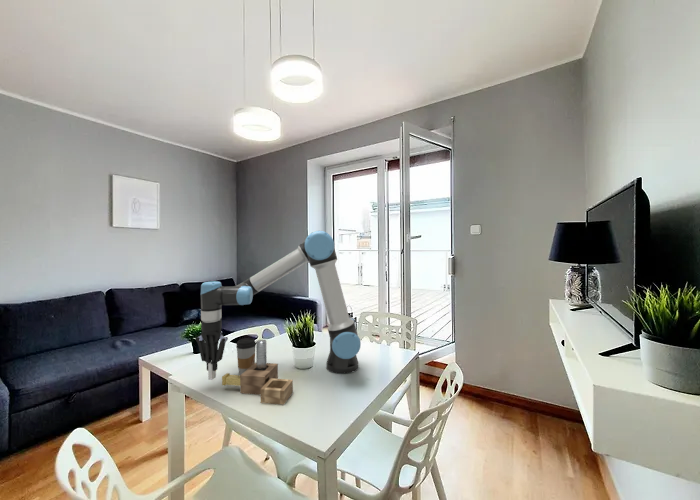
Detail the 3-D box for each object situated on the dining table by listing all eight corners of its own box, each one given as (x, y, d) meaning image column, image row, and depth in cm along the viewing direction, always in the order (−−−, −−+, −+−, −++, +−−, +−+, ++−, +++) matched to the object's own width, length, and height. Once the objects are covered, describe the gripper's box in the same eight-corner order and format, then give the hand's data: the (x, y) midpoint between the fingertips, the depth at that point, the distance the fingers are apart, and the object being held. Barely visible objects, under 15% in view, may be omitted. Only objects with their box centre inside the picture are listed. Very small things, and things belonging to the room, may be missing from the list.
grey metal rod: (268, 382, 123) (267, 339, 123) (264, 387, 119) (263, 343, 119) (259, 382, 124) (258, 339, 124) (254, 386, 120) (254, 342, 120)
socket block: (277, 379, 126) (277, 363, 126) (264, 395, 113) (264, 376, 113) (255, 378, 127) (255, 362, 127) (240, 393, 114) (240, 375, 114)
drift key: (257, 383, 118) (257, 375, 118) (253, 387, 114) (253, 378, 114) (226, 381, 120) (226, 373, 120) (222, 385, 116) (222, 376, 116)
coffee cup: (250, 378, 127) (249, 344, 127) (232, 377, 129) (232, 343, 128) (259, 370, 135) (259, 338, 135) (243, 369, 137) (242, 337, 137)
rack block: (292, 392, 115) (292, 379, 115) (284, 404, 106) (284, 390, 106) (270, 390, 116) (270, 378, 116) (260, 402, 107) (260, 389, 107)
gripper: (231, 318, 121) (232, 375, 122) (202, 317, 123) (203, 373, 124) (220, 323, 114) (221, 383, 114) (190, 322, 116) (191, 381, 116)
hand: (212, 378), depth 119 cm, fingers closed
